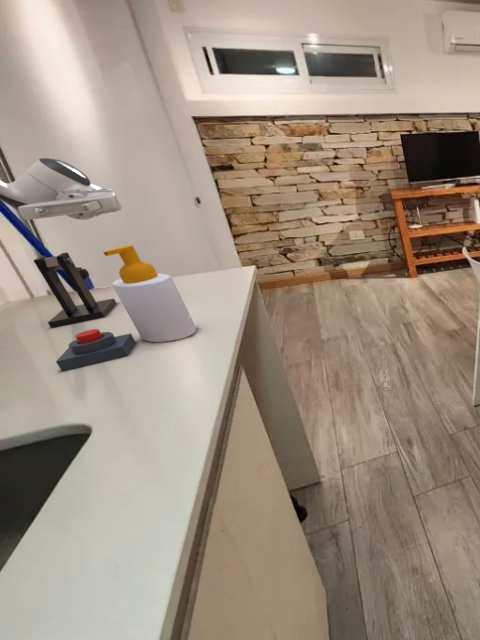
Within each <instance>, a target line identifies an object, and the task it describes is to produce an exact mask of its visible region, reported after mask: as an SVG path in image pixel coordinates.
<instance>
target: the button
mask: <svg viewBox="0 0 480 640" xmlns="http://www.w3.org/2000/svg"><path fill="white" fill-rule="evenodd" d="M74 337H75V340H78V342H79V344H83V343H88V342H92V341H95V340H98V339H100V338H102V337H103V336H102V334H101V331H100V329H98V328H92V329H87V330H83V331H81V332H79V333H76V334H75V335H74Z"/></svg>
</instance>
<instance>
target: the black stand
mask: <svg viewBox="0 0 480 640" xmlns="http://www.w3.org/2000/svg"><path fill="white" fill-rule="evenodd" d="M56 256H57V257H56V258H57V259H58V261H59V263H60V265H61V266H62V268H63V270H62V271H64V273H65V275H66V276H67V279H68V280H69V282H70V283H71V285H72V287H73V289H74V290H75V292H76V293H77V295H78V297H79V298H80V300H81V302H82V304H78V305H76V303H75V302H74V301H73V299H72V296H71V295H70V294H69V292H68V290H67V289H66V287H65V285H64V284H63V282H62V280H61V279H60V277H59V275H58V274H57V272H56V270H52V269H50V268H48V267H47V265H46V263H45V260H44V258H48V257H47V256H46V255H41V256H39V257H37V258H35V259H33V263H34V264H35V265H36V268H37V269H38V271H39V272H40V274H41V275H42V277H43V279H44V280H45V283H46V284H47V285H48V287H49V289H50V291H51V292H52V293H53V295H54V297H55V298H56V300H57V301H58V303H59V305H60V306H61V308H62V309H61V311H59V312H58V313H57V314H56V315H55V316H53V318H51V319H50V320H48V321H47V324H48V326H49V327H50V328H51V329H53V328H57V327H58V328H59V327H63V326H68V325H73V324H78V323H84V322H88V321H92V320H97V319H98V320H99V319H103V318H106V317H107V315H108V314H109V313H110V311H111V310H112V309H113V308H114V307H115V306H116V305H117V301H116V300H115V298H109V299H104V300H99V301H96V299H95V297H94V296H93V294H92V293H91V291H90V288H89V287H88V285H87V284H86V282H85V280H83V278H82V277H81V275H80V273H79V271H78V270H77V268H76V264H75V263H74V261H73V259H72V257H71V256H70V254H69V252H68V251H66V252H61V253H60V254H58V255H56Z"/></svg>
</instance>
